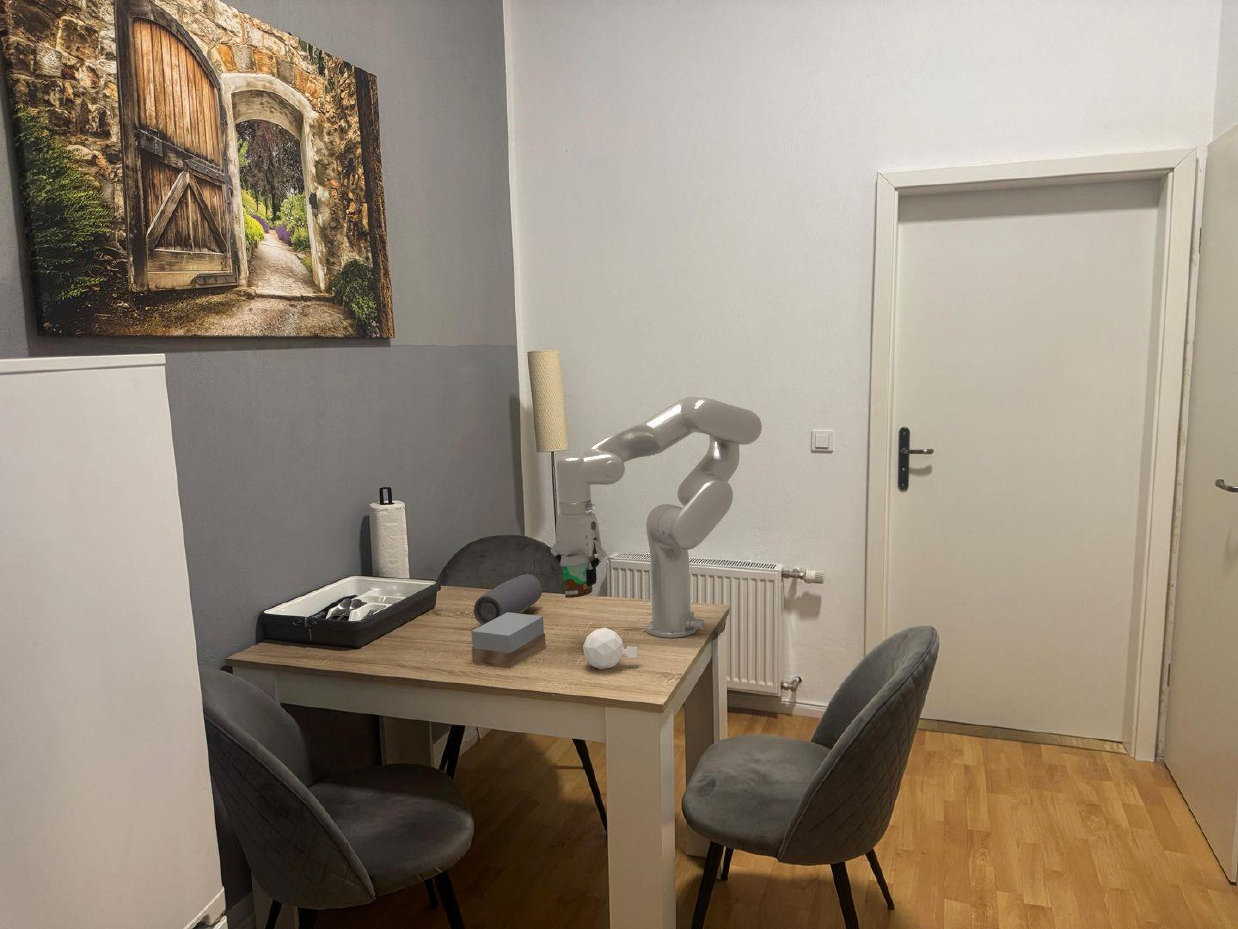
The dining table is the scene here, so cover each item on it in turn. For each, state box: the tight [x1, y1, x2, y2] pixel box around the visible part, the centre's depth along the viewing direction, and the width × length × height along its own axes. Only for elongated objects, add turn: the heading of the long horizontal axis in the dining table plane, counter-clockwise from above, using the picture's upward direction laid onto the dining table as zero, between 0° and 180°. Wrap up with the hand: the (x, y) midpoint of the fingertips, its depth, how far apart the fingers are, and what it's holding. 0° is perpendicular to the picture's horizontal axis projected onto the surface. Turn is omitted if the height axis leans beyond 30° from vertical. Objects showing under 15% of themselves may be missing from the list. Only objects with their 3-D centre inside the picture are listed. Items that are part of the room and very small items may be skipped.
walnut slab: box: [471, 632, 547, 669], centre depth 200 cm, size 10×15×4 cm, turn 151°
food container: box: [560, 554, 594, 599], centre depth 202 cm, size 12×6×10 cm, turn 166°
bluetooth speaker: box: [473, 573, 543, 626], centre depth 227 cm, size 23×9×10 cm, turn 159°
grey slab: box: [471, 612, 545, 653], centre depth 199 cm, size 10×15×4 cm, turn 155°
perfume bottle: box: [582, 627, 639, 670], centre depth 189 cm, size 9×9×12 cm
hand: (580, 582), depth 202 cm, fingers closed on food container, 5 cm apart
